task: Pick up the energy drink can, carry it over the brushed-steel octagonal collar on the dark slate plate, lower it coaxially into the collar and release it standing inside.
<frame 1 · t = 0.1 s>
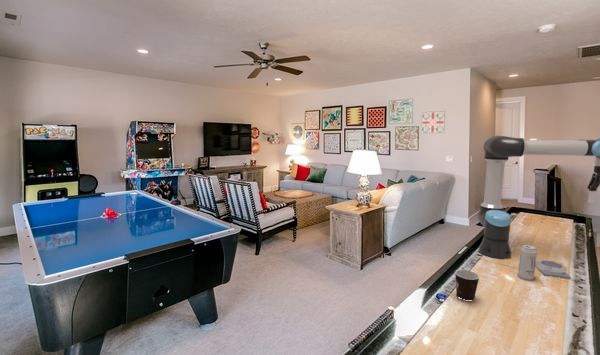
hand: (598, 205, 163), 28 cm above the table, fingers open, 13 cm apart
slate plate: (550, 270, 149), on the table
energy drink can: (525, 278, 142), on the table
steel collar: (551, 266, 149), on the slate plate, point 2 cm above the table
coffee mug: (464, 299, 125), on the table
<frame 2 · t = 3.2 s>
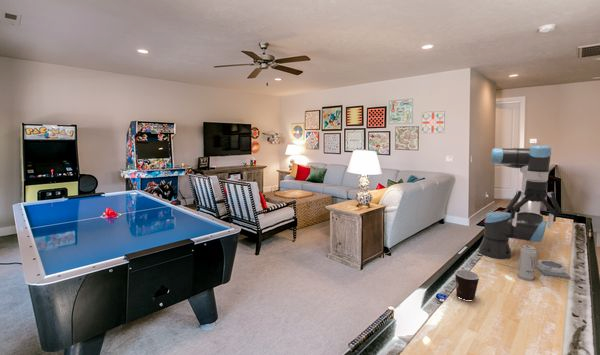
hand: (531, 227, 139), 24 cm above the table, fingers open, 13 cm apart
nothing on the table moved.
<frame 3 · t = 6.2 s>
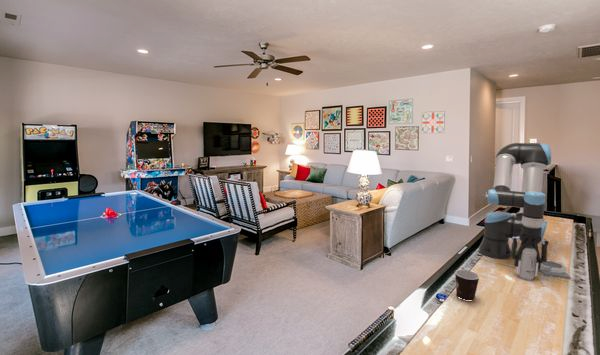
hand: (526, 273, 142), 2 cm above the table, fingers closed on energy drink can, 6 cm apart
energy drink can: (525, 278, 142), on the table, touching gripper
everything else where it was.
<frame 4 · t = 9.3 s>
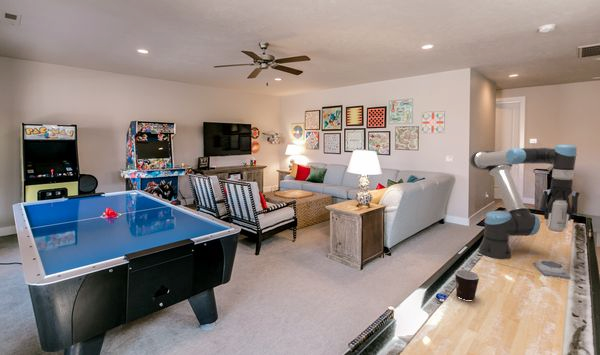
hand: (556, 226, 146), 23 cm above the table, fingers closed on energy drink can, 6 cm apart
energy drink can: (555, 230, 146), point 20 cm above the table, touching gripper
everything else where it was.
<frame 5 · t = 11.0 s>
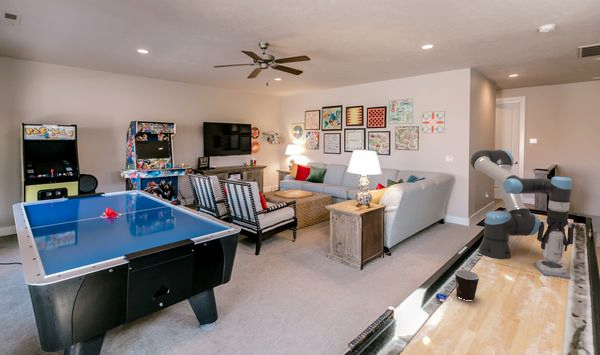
hand: (552, 256, 148), 8 cm above the table, fingers closed on energy drink can, 6 cm apart
energy drink can: (552, 260, 148), point 5 cm above the table, touching gripper
everything else where it was.
when the fingers open (4 cm above the table, at t = 12.3 s): energy drink can drops 1 cm, resting on slate plate.
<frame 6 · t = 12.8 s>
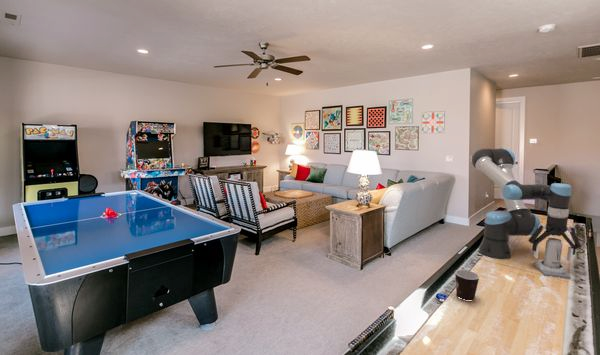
hand: (552, 259, 148), 6 cm above the table, fingers open, 13 cm apart
energy drink can: (550, 269, 149), point 1 cm above the table, touching slate plate
everything else where it was.
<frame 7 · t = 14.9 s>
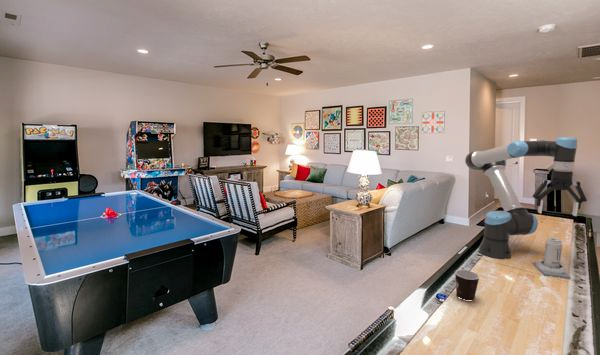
hand: (556, 214, 148), 28 cm above the table, fingers open, 13 cm apart
nothing on the table moved.
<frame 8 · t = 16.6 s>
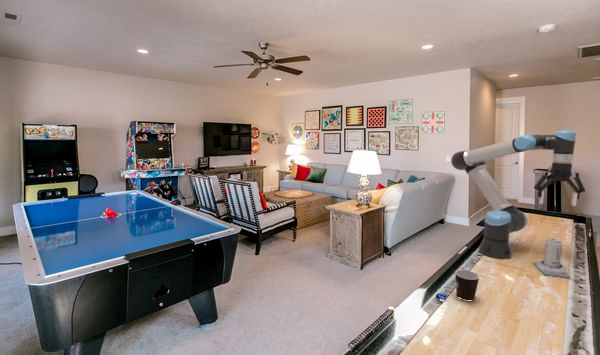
hand: (556, 204, 155), 31 cm above the table, fingers open, 13 cm apart
nothing on the table moved.
at the end: energy drink can 0.1 cm from the steel collar (horizontally); energy drink can tilted 0°; energy drink can point 0.8 cm above the table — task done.
